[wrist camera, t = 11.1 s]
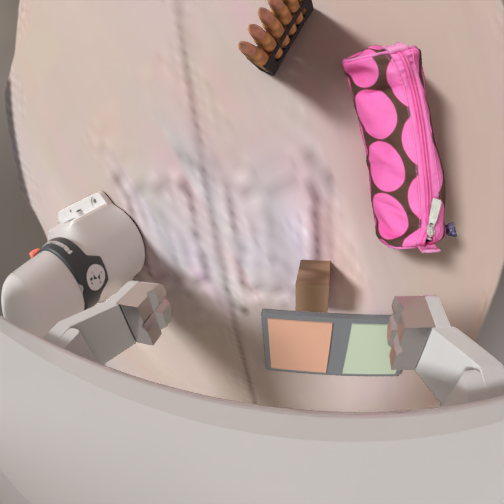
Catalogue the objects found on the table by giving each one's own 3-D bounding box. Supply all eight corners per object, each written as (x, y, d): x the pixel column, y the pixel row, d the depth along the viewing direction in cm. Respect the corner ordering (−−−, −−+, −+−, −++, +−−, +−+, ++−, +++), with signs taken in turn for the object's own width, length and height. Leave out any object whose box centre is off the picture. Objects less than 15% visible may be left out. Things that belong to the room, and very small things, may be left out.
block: (301, 284, 40) (295, 310, 35) (300, 259, 38) (295, 284, 33) (328, 285, 39) (327, 312, 34) (330, 261, 37) (329, 286, 32)
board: (267, 365, 50) (266, 370, 49) (262, 308, 44) (260, 313, 42) (398, 371, 43) (398, 377, 42) (418, 315, 37) (420, 320, 36)
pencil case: (440, 216, 30) (471, 252, 21) (372, 228, 33) (385, 269, 25) (406, 50, 22) (434, 28, 13) (329, 60, 25) (330, 38, 17)
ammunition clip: (299, 2, 22) (283, -45, 12) (313, 7, 22) (304, -39, 12) (259, 69, 28) (224, 49, 17) (273, 75, 28) (244, 57, 17)
